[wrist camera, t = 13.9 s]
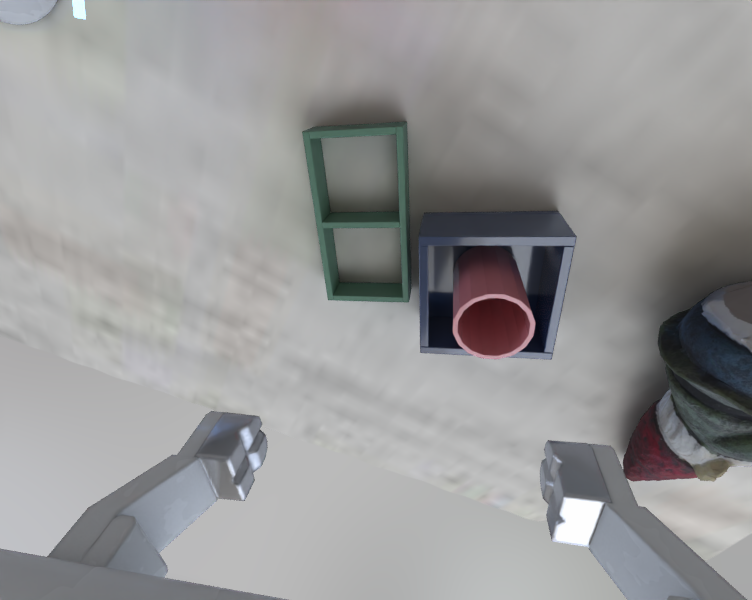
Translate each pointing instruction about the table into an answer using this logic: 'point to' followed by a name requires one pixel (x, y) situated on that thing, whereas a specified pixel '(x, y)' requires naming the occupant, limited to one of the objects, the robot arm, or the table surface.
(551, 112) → the table surface
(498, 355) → the cup
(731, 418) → the figurine
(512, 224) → the navy blue open box
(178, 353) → the table surface
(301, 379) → the table surface
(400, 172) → the rack
